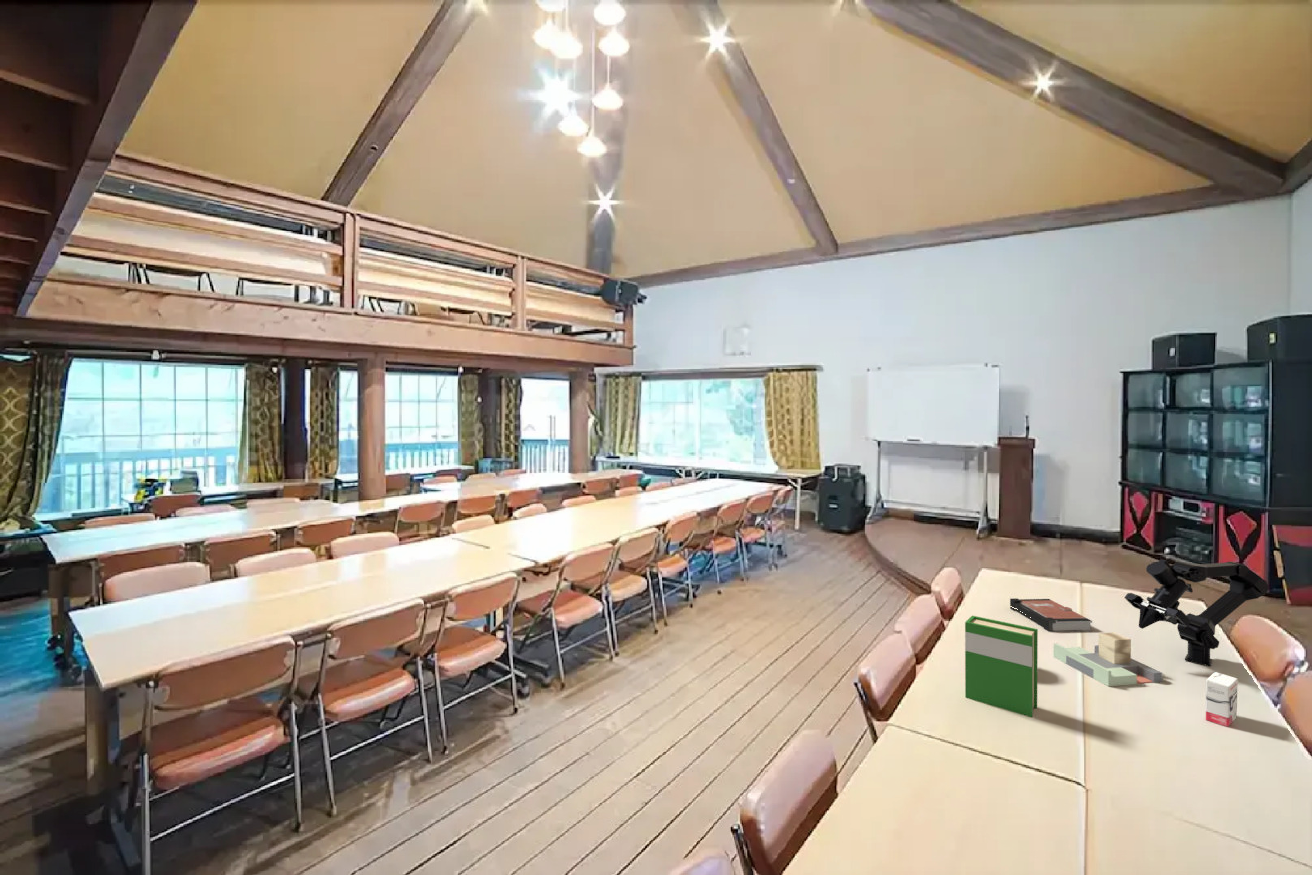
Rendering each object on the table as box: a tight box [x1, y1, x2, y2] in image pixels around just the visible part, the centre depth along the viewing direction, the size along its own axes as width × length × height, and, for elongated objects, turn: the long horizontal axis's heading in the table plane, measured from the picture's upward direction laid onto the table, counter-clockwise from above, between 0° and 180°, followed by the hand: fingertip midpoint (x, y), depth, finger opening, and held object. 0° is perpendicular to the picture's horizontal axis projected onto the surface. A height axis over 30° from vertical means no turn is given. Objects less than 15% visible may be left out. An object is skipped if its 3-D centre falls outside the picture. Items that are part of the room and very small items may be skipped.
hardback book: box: [964, 615, 1039, 718], centre depth 175 cm, size 18×7×24 cm, turn 46°
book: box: [1009, 598, 1093, 633], centre depth 240 cm, size 26×18×5 cm
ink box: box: [1205, 671, 1239, 728], centre depth 163 cm, size 8×5×12 cm, turn 123°
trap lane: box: [1053, 642, 1163, 687], centre depth 195 cm, size 19×22×5 cm
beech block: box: [1098, 631, 1132, 664], centre depth 195 cm, size 6×6×8 cm
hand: (1140, 627), depth 195 cm, fingers closed
